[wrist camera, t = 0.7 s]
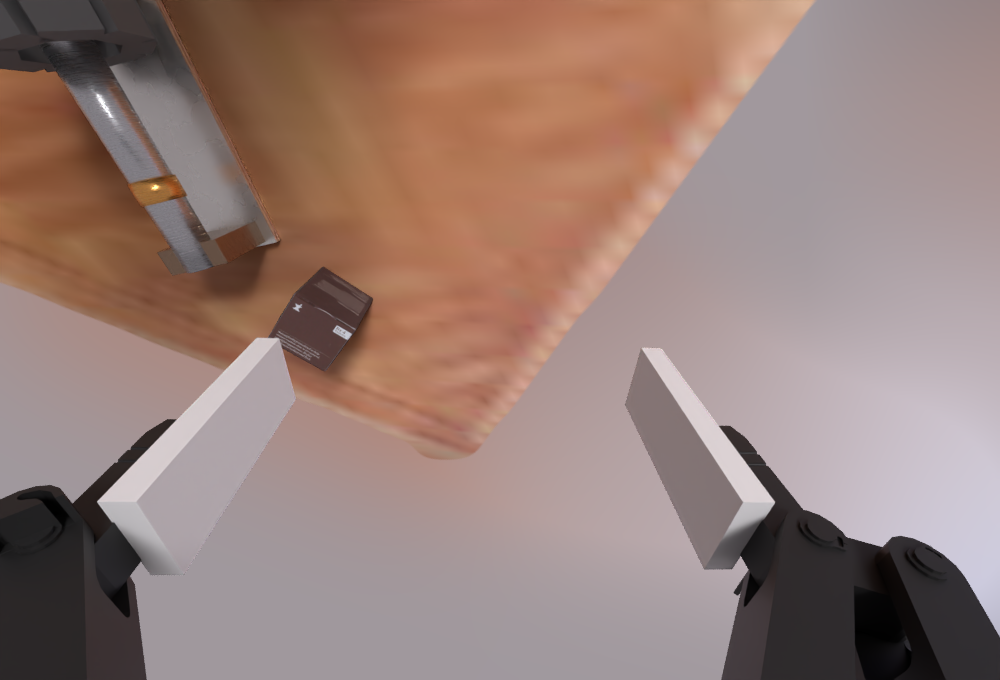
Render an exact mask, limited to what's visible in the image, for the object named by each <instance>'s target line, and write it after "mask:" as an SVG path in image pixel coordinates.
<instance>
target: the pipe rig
mask: <svg viewBox="0 0 1000 680" xmlns="http://www.w3.org/2000/svg"><path fill="white" fill-rule="evenodd" d="M136 1H137V3H138V5H139V7H140V8H141V10H142V12H143V14H144V16H145V18H146V20H147V22H148V24H149V26H150V28H151V30H152V31H153V33H154V35H155V37H156V39H157V41H158V43H157V45H156V47H155V49H154V51H153V54H146V56H147V57H143V58H139V59H136V60H132V61H128V62H125V63H121V64H117V65H114V66H109V65H108V63H107V62H106V60H105V58H104V57H103V55H102V53H101V51H100V50H99V48H98V46H97V45H96V43H95V41H94V40H78V41H55V42H47V43H44V44H40V45H39V46H40V47H41V49H42V50H43V52H44V53H45V55H46V56H47V58H48V60H49V61H50V63H51V64H52V66H53V67H54V69H55V70H56V72H57V73H58V75H59V77H60V78H61V80H62V81H63V83H64V84H65V86H66V87H67V89H68V90H69V92H70V93H71V95H72V97H73V98H74V100H75V101H76V103H77V104H78V106H79V107H80V109H81V110H82V112H83V114H84V115H85V117H86V118H87V120H88V121H89V123H90V124H91V126H92V127H93V129H94V131H95V132H96V134H97V135H98V137H99V138H100V140H101V141H102V143H103V144H104V146H105V148H106V149H107V151H108V152H109V154H110V155H111V157H112V158H113V160H114V161H115V163H116V165H117V166H118V168H119V169H120V171H121V172H122V174H123V175H124V177H125V178H126V180H127V181H128V183H129V185H127V186H128V187H129V189H130V190H131V192H132V193H133V195H134V197H135V198H136V200H137V201H138V203H139V204H140V206H141V207H144V208H145V209H146V211H147V212H148V214H149V215H150V217H151V219H152V220H153V222H154V223H155V225H156V226H157V228H158V229H159V231H160V232H161V234H162V236H163V237H164V239H165V240H166V242H167V243H168V245H169V246H170V248H167V249H165V250H162V251H160V252H157V253H158V255H159V256H160V258H161V259H162V261H163V262H164V264H165V265H166V267H167V268H168V270H169V271H170V273H171V274H172V276H173V275H177V274H182V273H193V272H197V271H201V270H204V269H207V268H210V267H213V266H217V265H221V264H226V263H229V262H231V261H232V260H234V259H236V258H238V257H239V256H241V255H243V254H245V253H246V252H248V251H250V250H252V249H253V248H255V247H258V246H263V245H267V244H272V243H276V242H278V241H280V238H279V236H278V234H277V232H276V230H275V228H274V226H273V224H272V222H271V220H270V218H269V216H268V214H267V212H266V210H265V208H264V206H263V204H262V202H261V200H260V198H259V196H258V194H257V192H256V190H255V188H254V186H253V184H252V182H251V179H250V177H249V175H248V173H247V171H246V169H245V167H244V165H243V163H242V161H241V159H240V157H239V155H238V153H237V151H236V149H235V147H234V145H233V143H232V141H231V139H230V137H229V135H228V133H227V131H226V129H225V127H224V125H223V123H222V121H221V119H220V117H219V115H218V113H217V111H216V109H215V107H214V105H213V103H212V101H211V99H210V97H209V95H208V93H207V91H206V89H205V87H204V85H203V83H202V81H201V79H200V77H199V75H198V73H197V71H196V69H195V67H194V65H193V63H192V61H191V59H190V57H189V55H188V53H187V51H186V49H185V47H184V45H183V43H182V41H181V39H180V37H179V35H178V33H177V31H176V29H175V27H174V25H173V23H172V21H171V19H170V17H169V15H168V13H167V11H166V9H165V7H164V5H163V3H162V1H161V0H136Z"/></svg>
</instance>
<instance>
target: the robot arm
mask: <svg viewBox="0 0 1000 680" xmlns="http://www.w3.org/2000/svg"><path fill="white" fill-rule="evenodd" d="M295 400H296V398H295V394H294V390H293V387H292V383H291V379H290V376H289V372H288V368H287V365H286V361H285V358H284V354H283V350H282V347H281V343H280V339H279V338H256V339H255V340H254V341H253V342H252V343H251V344H250V345H249V346H248V347H247V348H246V349H245V350H244V351H243V352H242V353H241V355H240V356H239V357H238V358H237V359H236V360H235V361H234V362H233V363H232V364H231V365H230V366H229V367H228V368H227V369H226V370H225V371H224V372H223V373H222V374H221V375H220V376H219V377H218V378H217V379H216V380H215V381H214V382H213V383H212V384H211V385H210V386H209V387H208V388H207V389H206V390H205V391H204V392H203V394H201V396H200V397H199V398H198V399H197V400H196V401H195V402H194V403H193V404H192V405H191V406H190V407H189V408H188V409H187V410H186V411H185V412H184V413H183V414H182V415H181V416H180V417H179V418H178V419H177V420H176V419H175V420H173V419H167V420H165V421H164V422H163V423H161V424H159V425H157V426H156V427H154V428H152V429H151V430H149V431H147V432H146V433H145V434H144V435H143V436H142V437H141V438H140V439H139V440H138V441H137V442H136V443H135V444H134V445H133V446H132V447H131V450H127V451H126V453H124V454H123V455H122V456H121V457H120V458H119V459H118V462H117V463H114V464H113V465H112V466H111V467H110V468H109V469H108V470H107V471H106V472H105V473H104V474H103V475H102V476H101V477H100V478H99V479H98V480H97V481H96V482H94V484H93V485H91V486H90V487H89V488H88V489H87V490H86V491H85V492H84V493H83V494H82V495H81V496H80V497H79V498H78V499H77V500H76V501H75V502H74V503H73V504H72V503H71V502H70V500H69V499H68V498H67V496H66V495H65V494H64V492H63V491H62V490H61V489H60V488H58V487H55V486H52V485H47V486H36V487H32V488H29V489H25V490H22V491H18V492H16V493H14V494H12V495H9V496H7V497H5V498H3V499H0V680H147V679H146V672H145V663H144V655H143V647H142V640H141V631H140V623H139V615H138V607H137V599H136V591H135V584H134V582H133V581H132V579H131V577H130V575H131V574H132V572H133V571H134V570H135V568H136V567H137V566H138V564H139V563H140V562H142V564H143V565H144V566H145V568H146V569H147V570H148V572H149V573H150V574H151V575H184V574H185V573H186V571H187V569H188V568H189V566H190V565H191V563H192V562H193V560H194V558H195V557H196V555H197V554H198V552H199V550H200V549H201V547H202V546H203V544H204V543H205V541H206V539H207V538H208V536H209V535H210V533H211V532H212V530H213V529H214V527H215V525H216V524H217V522H218V521H219V519H220V518H221V516H222V514H223V513H224V511H225V510H226V508H227V507H228V505H229V503H230V502H231V500H232V499H233V497H234V495H235V494H236V492H237V491H238V489H239V488H240V486H241V485H242V483H243V481H244V480H245V478H246V477H247V475H248V473H249V472H250V470H251V469H252V467H253V466H254V464H255V463H256V461H257V459H258V458H259V456H260V455H261V453H262V452H263V450H264V449H265V447H266V445H267V444H268V442H269V441H270V439H271V437H272V436H273V434H274V433H275V431H276V429H277V428H278V426H279V425H280V423H281V422H282V420H283V419H284V417H285V416H286V414H287V412H288V411H289V409H290V408H291V406H292V404H293V403H294V401H295ZM625 406H626V408H627V410H628V412H629V413H630V415H631V418H632V420H633V422H634V424H635V426H636V429H637V431H638V433H639V435H640V437H641V439H642V441H643V443H644V445H645V447H646V449H647V451H648V454H649V456H650V457H651V460H652V462H653V464H654V466H655V468H656V470H657V472H658V474H659V476H660V478H661V480H662V483H663V485H664V487H665V489H666V491H667V493H668V495H669V497H670V499H671V501H672V504H673V506H674V508H675V509H676V512H677V513H678V516H679V518H680V520H681V522H682V524H683V526H684V529H685V531H686V533H687V535H688V537H689V538H690V541H691V543H692V545H693V547H694V549H695V551H696V553H697V555H698V558H699V560H700V562H701V564H702V566H703V568H704V569H732V568H733V567H734V565H735V564H736V562H737V561H738V559H739V558H740V556H741V557H742V559H743V560H744V562H745V564H746V566H747V568H748V569H749V570H748V572H747V573H746V575H745V576H744V578H743V579H742V580H741V582H740V584H739V585H738V586H737V588H736V589H735V591H734V594H736V595H739V594H740V592H741V595H740V598H739V603H738V607H737V612H736V616H735V621H734V625H733V630H732V634H731V639H730V643H729V648H728V652H727V657H726V661H725V665H724V670H723V675H722V680H1000V637H999V635H998V633H997V632H996V630H995V628H994V626H993V625H992V623H991V621H990V619H989V618H988V616H987V614H986V612H985V611H984V609H983V607H982V606H981V604H980V602H979V600H978V599H977V597H976V595H975V593H974V592H973V590H972V588H971V587H970V585H969V583H968V581H967V580H966V578H965V577H964V575H963V574H962V573H961V571H960V570H959V569H958V568H957V567H956V565H954V564H953V563H952V562H951V561H950V560H949V559H947V558H946V557H945V556H944V555H943V554H941V553H940V552H938V551H937V550H935V549H933V548H932V547H930V546H929V545H927V544H925V543H922V542H920V541H918V540H915V539H913V538H908V537H903V536H898V537H892V538H891V539H890V540H889V541H888V542H887V543H886V544H885V545H884V546H883V547H880V546H876V545H872V544H868V543H865V542H862V541H858V540H854V539H851V538H847V537H846V536H845V535H844V534H843V532H842V531H841V530H839V529H838V528H837V527H836V526H835V525H834V524H833V523H832V522H830V521H828V520H827V519H825V518H823V517H821V516H820V515H818V514H815V513H812V512H809V511H805V510H803V509H802V508H801V507H800V505H799V504H798V503H797V502H796V500H795V499H794V498H793V496H792V495H791V494H790V493H789V492H788V490H787V489H786V488H785V486H784V485H783V484H782V483H781V481H780V480H779V479H778V478H777V476H776V475H775V474H774V473H773V471H772V470H771V469H770V468H769V467H768V466H766V463H765V461H764V460H763V459H762V458H761V456H760V455H757V451H756V450H755V449H754V448H753V446H752V445H751V444H750V443H749V441H748V440H747V439H746V438H745V437H744V436H743V435H741V434H740V433H739V432H737V431H736V430H735V429H733V428H732V427H731V426H718V425H717V423H716V422H715V421H714V419H713V418H712V416H711V415H710V414H709V412H708V411H707V410H706V408H705V407H704V406H703V404H702V403H701V402H700V400H699V399H698V398H697V396H696V395H695V393H694V392H693V391H692V389H691V388H690V387H689V385H688V384H687V383H686V381H685V380H684V379H683V377H682V376H681V375H680V373H679V372H678V371H677V369H676V368H675V367H674V365H673V364H672V362H671V361H670V360H669V358H668V357H667V356H666V354H665V353H664V352H663V350H662V349H661V348H641V350H640V354H639V358H638V361H637V365H636V368H635V372H634V375H633V379H632V382H631V386H630V389H629V393H628V396H627V400H626V403H625Z"/></svg>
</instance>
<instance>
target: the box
mask: <svg viewBox="0 0 1000 680" xmlns="http://www.w3.org/2000/svg"><path fill="white" fill-rule="evenodd" d="M372 300H373V298H371V297H370V296H368V295H367V294H365V293H363V292H362V291H360V290H359V289H357V288H356V287H354V286H353V285H351V284H350V283H348V282H346V281H345V280H343V279H342V278H340V277H339V276H337V275H335V274H334V273H332V272H331V271H329V270H328V269H326V268H325V267H322V268H321V269H320V270H319V271H318V272H316V274H315V275H313V277H312V278H310V279H309V280H308V281H307V282H306V283H305V284H304V285H303V286H302V287H301V288H300V289H299V290H298V291H297V292H296V293H295V294H294V295H293V296H292V298H291V300H290V302H289V303H288V305H287V307H286V308H285V310H284V311H283V313H282V314H281V316H280V318H279V320H278V321H277V323H276V325H275V327H274V328H273V330H272V332H271V333H270V335H269V337H268V338H279V339H280V343H281V347H282V348H283V349H285V350H287V351H288V352H290V353H292V354H294V355H296V356H298V357H299V358H301V359H303V360H305V361H307V362H309V363H310V364H312V365H314V366H316V367H318V368H319V369H321V370H323V371H326V370H327V368H328V367H329V366H330V365H331V364H332V362H333V361H334V359H335V358H336V357H337V355H338V354H339V353H340V351H341V350H342V349H343V347H344V346H345V344H346V343H347V342H348V340H349V339H350V338H351V336H352V335H353V334H354V332H355V331H356V330H357V328H358V326H359V324H360V322H361V320H362V319H363V317H364V315H365V313H366V312H367V310H368V308H369V306H370V305H371V303H372Z"/></svg>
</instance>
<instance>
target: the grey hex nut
mask: <svg viewBox="0 0 1000 680" xmlns="http://www.w3.org/2000/svg"><path fill="white" fill-rule="evenodd" d="M78 40H94V41H95V43H96V45H97V46H98V48H99V50H100V51H101V53H102V55H103V57H104V58H105V60H106V62H107V63H108V65H109V66H114V65H117V64H121V63H125V62H128V61H132V60H136V59H139V58H143V57H147V56H146V54H153V51H154V49H155V47H156V45H157V43H158V41H157V39H156V37H155V35H154V33H153V31H152V30H151V28H150V26H149V24H148V22H147V20H146V18H145V16H144V14H143V12H142V10H141V8H140V7H139V5H138V3H137V1H136V0H0V69H8V70H18V71H28V72H36V71H39V70H43V69H45V70H46V71H47V72H55V71H56V70H55V69H54V67H53V66H52V64H51V63H50V61H49V60H48V58H47V56H46V55H45V53H44V52H43V50H42V49H41V47H40V46H39V45H40V44H44V43H47V42H55V41H78Z"/></svg>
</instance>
